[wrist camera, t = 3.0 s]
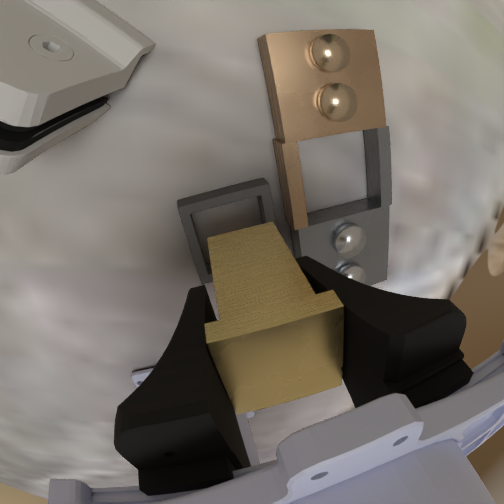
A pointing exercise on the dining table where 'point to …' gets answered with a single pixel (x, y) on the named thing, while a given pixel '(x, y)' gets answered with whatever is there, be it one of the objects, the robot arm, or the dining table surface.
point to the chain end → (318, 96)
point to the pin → (270, 322)
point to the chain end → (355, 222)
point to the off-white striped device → (58, 71)
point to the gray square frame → (217, 199)
